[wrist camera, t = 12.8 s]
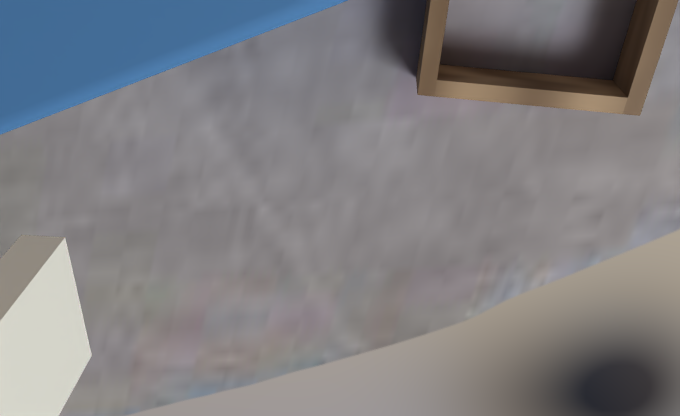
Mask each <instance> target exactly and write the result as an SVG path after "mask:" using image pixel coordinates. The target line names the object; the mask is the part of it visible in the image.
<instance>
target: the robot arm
mask: <svg viewBox="0 0 680 416" xmlns="http://www.w3.org/2000/svg"><path fill="white" fill-rule="evenodd" d="M91 356H92V355H91V350H90V346H89V342H88V337H87V333H86V328H85V324H84V319H83V315H82V310H81V306H80V301H79V297H78V293H77V288H76V284H75V279H74V275H73V270H72V266H71V261H70V257H69V253H68V248H67V244H66V239H65V237H49V236H31V235H21V236H20V237H19V239H18V240H17V241H16V242H15V243H14V244H13V245H12V246H11V248H10V249H9V250H8V251H7V252H6V253H5V254H4V255H3V257H2V258H1V259H0V416H59V414H60V412H61V410H62V409H63V407H64V405H65V403H66V401H67V399H68V398H69V396H70V394H71V392H72V390H73V389H74V387H75V385H76V383H77V381H78V379H79V378H80V376H81V374H82V372H83V370H84V369H85V367H86V365H87V363H88V361H89V359H90V358H91Z"/></svg>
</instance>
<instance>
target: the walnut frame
mask: <svg viewBox="0 0 680 416" xmlns="http://www.w3.org/2000/svg"><path fill="white" fill-rule="evenodd" d="M677 3H678V0H637V1H636V5H635V8H634V11H633V14H632V18H631V21H630V24H629V28H628V31H627V34H626V38H625V41H624V44H623V48H622V51H621V54H620V58H619V61H618V64H617V68H616V71H615V74H614V78H613V80H603V79H592V78H581V77H571V76H560V75H549V74H538V73H527V72H516V71H505V70H495V69H484V68H473V67H462V66H451V65H440V57H441V51H442V44H443V38H444V31H445V25H446V18H447V12H448V5H449V0H427V2H426V10H425V17H424V24H423V32H422V39H421V47H420V54H419V61H418V69H417V76H416V81H417V94H418V95H425V96H436V97H447V98H457V99H468V100H479V101H489V102H500V103H511V104H521V105H532V106H543V107H553V108H564V109H575V110H585V111H596V112H607V113H617V114H628V115H639V116H640V114H641V111H642V108H643V105H644V102H645V99H646V96H647V93H648V90H649V87H650V84H651V81H652V78H653V75H654V72H655V69H656V66H657V63H658V60H659V57H660V54H661V51H662V48H663V45H664V42H665V39H666V36H667V33H668V30H669V27H670V24H671V21H672V18H673V15H674V12H675V9H676V6H677Z"/></svg>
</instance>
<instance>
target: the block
mask: <svg viewBox="0 0 680 416" xmlns="http://www.w3.org/2000/svg"><path fill="white" fill-rule="evenodd" d="M345 1H347V0H0V134H3V133H6V132H8V131H11V130H13V129H16V128H19V127H21V126H24V125H26V124H29V123H31V122H34V121H37V120H39V119H42V118H44V117H47V116H50V115H52V114H55V113H57V112H60V111H63V110H65V109H68V108H70V107H73V106H76V105H78V104H81V103H83V102H86V101H88V100H91V99H94V98H96V97H99V96H101V95H104V94H107V93H109V92H112V91H114V90H117V89H120V88H122V87H125V86H127V85H130V84H133V83H135V82H138V81H140V80H143V79H145V78H148V77H151V76H153V75H156V74H158V73H161V72H164V71H166V70H169V69H171V68H174V67H177V66H179V65H182V64H184V63H187V62H189V61H192V60H195V59H197V58H200V57H202V56H205V55H208V54H210V53H213V52H215V51H218V50H221V49H223V48H226V47H228V46H231V45H234V44H236V43H239V42H241V41H244V40H246V39H249V38H252V37H254V36H257V35H259V34H262V33H265V32H267V31H270V30H272V29H275V28H278V27H280V26H283V25H285V24H288V23H291V22H293V21H296V20H298V19H301V18H303V17H306V16H309V15H311V14H314V13H316V12H319V11H322V10H324V9H327V8H329V7H332V6H335V5H337V4H340V3H342V2H345Z"/></svg>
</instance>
